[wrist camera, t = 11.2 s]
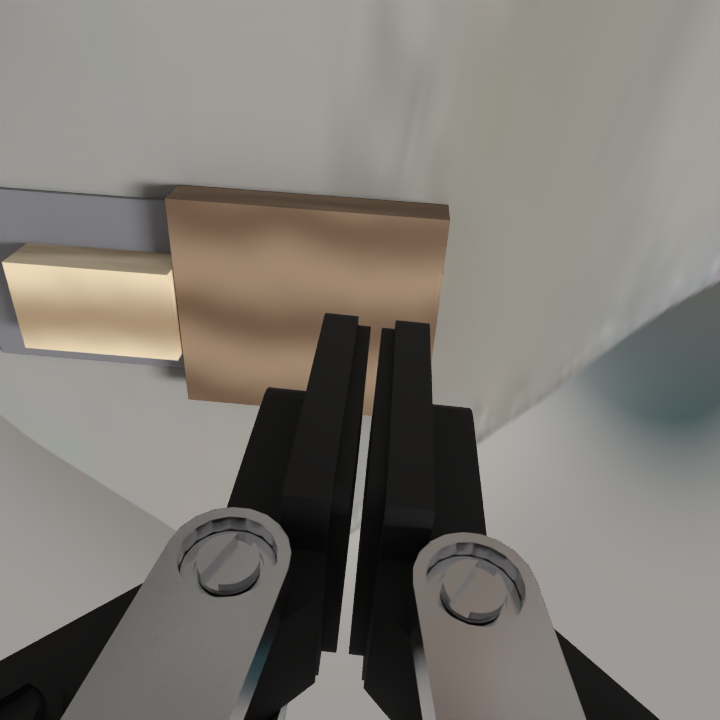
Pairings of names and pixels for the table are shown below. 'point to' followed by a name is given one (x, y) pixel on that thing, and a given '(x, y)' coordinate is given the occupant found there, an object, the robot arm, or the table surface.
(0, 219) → the rubber mat
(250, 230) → the plate
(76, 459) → the table surface
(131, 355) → the maple tile
